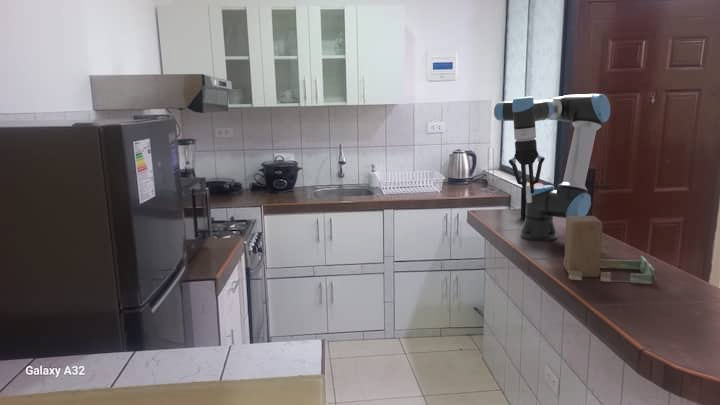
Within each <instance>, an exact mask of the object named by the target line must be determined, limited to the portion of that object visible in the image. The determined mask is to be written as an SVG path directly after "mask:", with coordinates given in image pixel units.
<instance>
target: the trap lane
mask: <svg viewBox="0 0 720 405" xmlns="http://www.w3.org/2000/svg"><path fill="white" fill-rule="evenodd" d="M600 269H617V270H618V269H620V270H622V269H623V270H624V269H625V270H639V271H640V272H641V273H630V274H629V280H614V279H613V280H611V277H612V272H609V271H607V272H606V271H600V275H599V276H600V278H599V279H594V278H593V279H592V278H583V277H582V271H570V270H569V274H568V280H569V279H570V281H571V280H574V281H590V282H592V281H593V282H609V283H610V282H611V283H628V284H629V283H630V284H631V283H632V284H647V285H649V284H650V285H654V284H655V275H656V274H655V272H656V268H654V267H653V266H652V265H651V263H650V262H649V261H648V260H647V259H646V258H645V257H644V256H643V255H639V260H629V259H628V260H627V259H626V260H625V259H608V258H606V259H604V258H603V259H602V258H600Z"/></svg>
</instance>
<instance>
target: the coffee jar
mask: <svg viewBox="0 0 720 405" xmlns="http://www.w3.org/2000/svg"><path fill="white" fill-rule="evenodd" d="M529 184H530V182H527V185H529ZM542 185H544V184H543V183H540V182H538V183H536V184H534V186H542ZM520 190H521V191H520V217H521V218H522V219H521V220H525V218H526V194H524V193H523V186H522V185H521V189H520Z"/></svg>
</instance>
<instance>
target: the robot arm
mask: <svg viewBox="0 0 720 405" xmlns="http://www.w3.org/2000/svg"><path fill="white" fill-rule="evenodd" d="M610 115H611V104H610V101H609V98H608V97H607V96H606V95H605V94H603V93H589V94H588V93H586V94H567V95H563V96H556V97H549V98H547V99H539V100H535V98H534V97H533V96H523V97H517V98H516V97H515V98H514V99H513V100H512V101H499V102H497V103H496V104H495V106H494V109H493V116H494V118H495V119H496V120H497V121H501V122H506V121H507V122H513V132H514V135H513V136H514V140H515V141H514V149H515V151H514V157H512V158H511V159H509V160H508V164H510V166H511V168H512V171H513V174H514V176H515V180H516V183H517V184H518V185H521V187H522V186H523V193H524V194H526V218H525V219H524V222H523V225H522V228H521V230H520V236H521V237H522V238H524V239H526V240H529V241H545V242H546V241H553V240H555V239H557V235H558V234H557V229H556V226H555V223H554V217H555V218H562V219H566V218H567V216H587V214H588V213H589V210H590V208H591V204H592V201H591V200H592V198H591V195H590V194H589V193H588V188H587V187H586V181H587V175H588V172H589V167H590V162H591V157H592V154H593V148H594V142H595V140H596V139H595V138H596V135H597V131H598V130H599V129H601V128H602V125H603V123H605V122H607V121H609V119H610ZM545 120H549V121H561V122H570V123H571V125H572V126H573V128H574V130H573V134H572V139H571V144H570V147H569V148H570V149H569V152H568V157H567V162H566V166H565V172H564V176H563V179H562V180H563V181H562V182H561V183H559V184H558V186H557V189H555V186H554V185H551V184H547V185H545V184H543V185H542V186H534V184H536V183H540V176H541V171H542V166H543V163H544V161H545V160H546V158H545V156H541V155H539V152H538V148H537V139H535V138H537V131H536V129H537V128H536V122H538V121H545ZM536 160H537V162H538V164H537V169H536V173H535V179H534V163H535V161H536ZM517 162H518V163H519V165H520V167H521V168H520V169H521V175H520V173H519V169H518V167H517V164H516V163H517ZM527 166H528V175H529V177H528V178H529V183H530V184H529V185H527V183H528V182H527V170H526V169H527Z"/></svg>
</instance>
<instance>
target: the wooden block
mask: <svg viewBox="0 0 720 405" xmlns="http://www.w3.org/2000/svg"><path fill="white" fill-rule="evenodd" d="M564 237H565V239H564V241H565V242H564V257H563V266H564V269H565V271H566V273H567V274H568V275H569V270H570V271H582V278H598V277H599V276H601V268H600V259H602V256H601V254H602V241H603V240H602V239H603V223H602V221H601V220H600V219H598V217H597V216H595V215H585V216H567V218H565V236H564Z"/></svg>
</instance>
